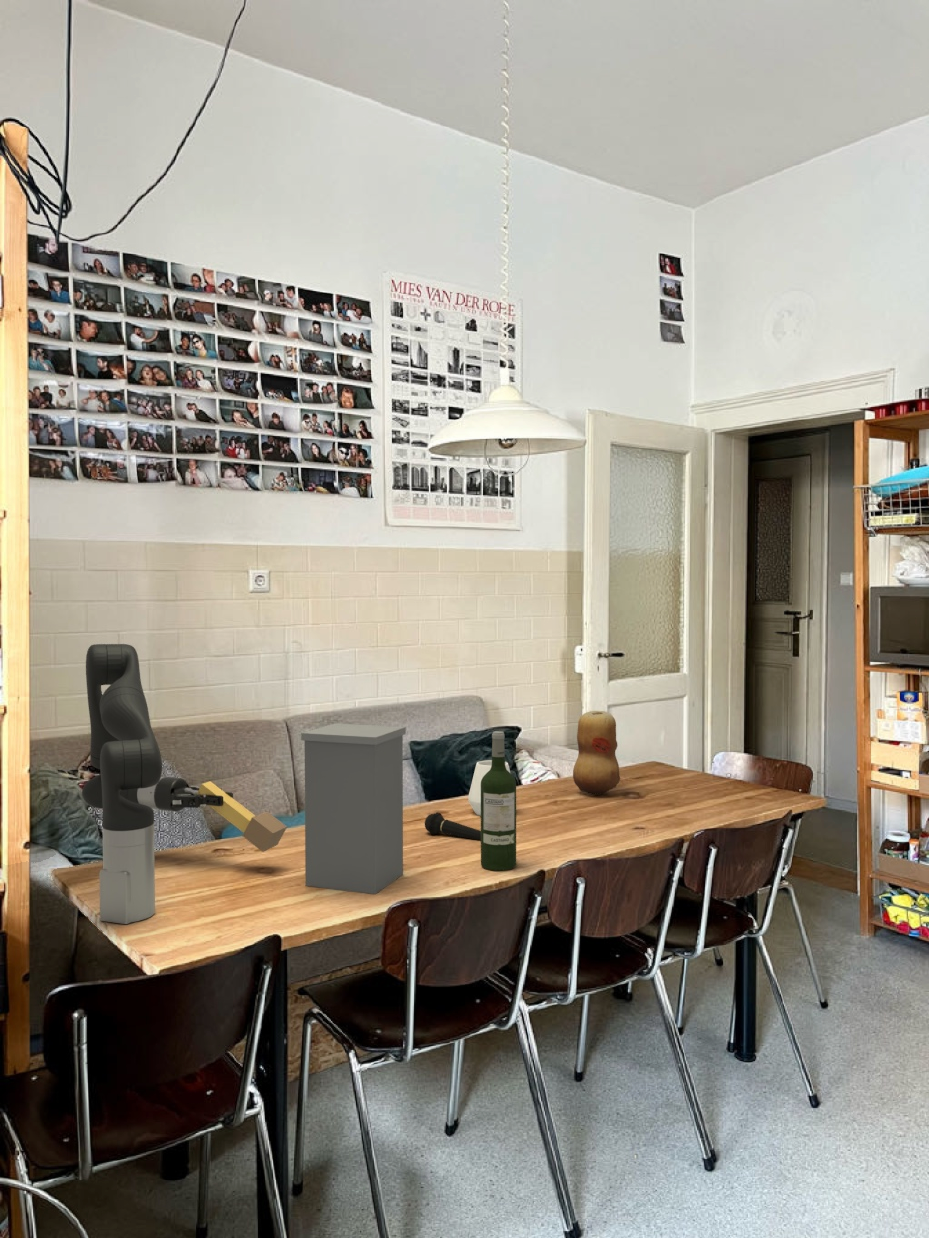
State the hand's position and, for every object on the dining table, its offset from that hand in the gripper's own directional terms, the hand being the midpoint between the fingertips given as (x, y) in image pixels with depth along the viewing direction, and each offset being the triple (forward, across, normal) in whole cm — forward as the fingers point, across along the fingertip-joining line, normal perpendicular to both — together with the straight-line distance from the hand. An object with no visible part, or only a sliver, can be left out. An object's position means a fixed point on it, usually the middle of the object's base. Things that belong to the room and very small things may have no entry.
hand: (227, 799), depth 211 cm
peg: (+2, 0, +5) cm, 5 cm away
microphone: (+40, +40, +15) cm, 59 cm away
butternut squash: (+62, +100, +15) cm, 119 cm away
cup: (+40, +67, +15) cm, 80 cm away
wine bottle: (+57, +20, +15) cm, 62 cm away
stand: (+32, 0, +15) cm, 35 cm away
